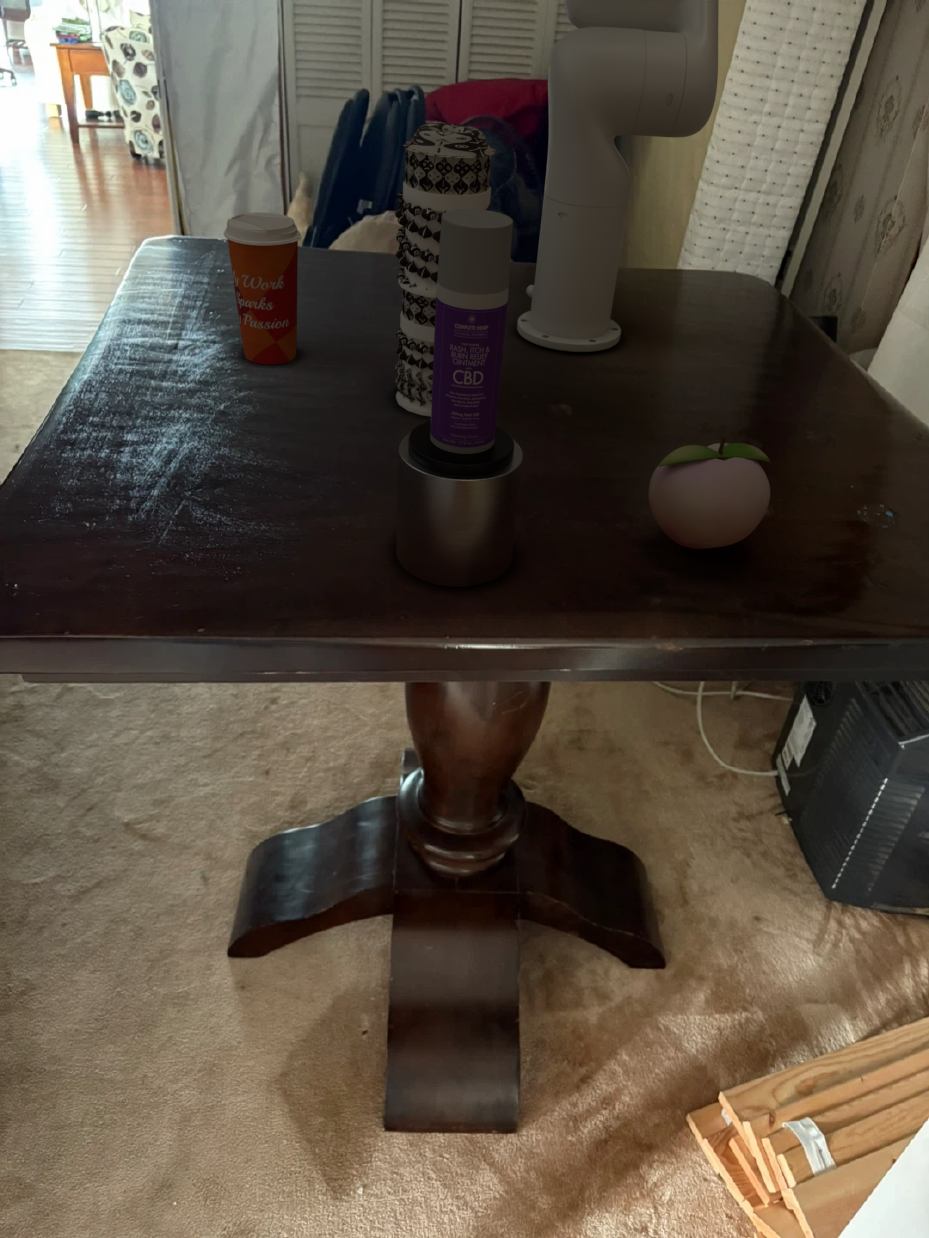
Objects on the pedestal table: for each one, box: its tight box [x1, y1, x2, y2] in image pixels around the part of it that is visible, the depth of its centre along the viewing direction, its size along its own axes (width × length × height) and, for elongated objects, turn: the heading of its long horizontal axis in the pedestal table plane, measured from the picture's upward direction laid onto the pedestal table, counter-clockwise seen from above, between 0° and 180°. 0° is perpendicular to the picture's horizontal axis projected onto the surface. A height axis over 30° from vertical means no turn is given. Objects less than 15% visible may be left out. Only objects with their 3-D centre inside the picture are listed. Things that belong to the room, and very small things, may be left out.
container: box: [430, 209, 514, 454], centre depth 61 cm, size 5×5×15 cm
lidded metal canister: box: [395, 419, 524, 588], centre depth 69 cm, size 9×9×10 cm
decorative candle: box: [394, 122, 497, 417], centre depth 87 cm, size 9×9×25 cm
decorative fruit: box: [648, 434, 771, 550], centre depth 71 cm, size 9×8×10 cm
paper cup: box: [223, 211, 302, 366], centre depth 97 cm, size 8×8×14 cm
